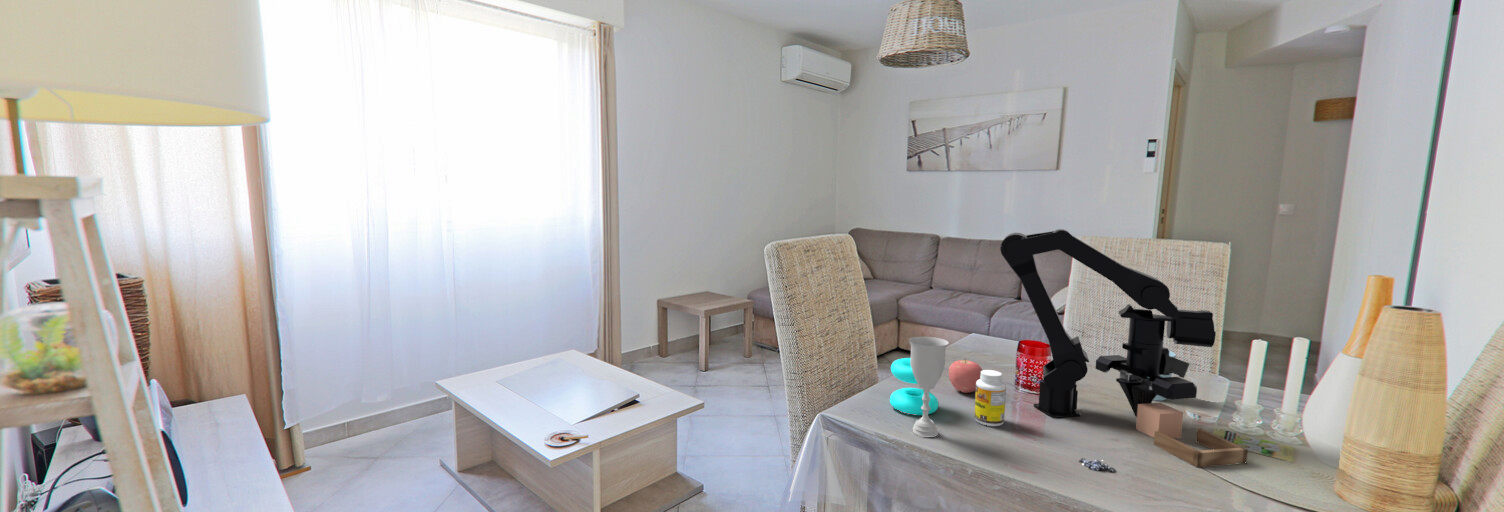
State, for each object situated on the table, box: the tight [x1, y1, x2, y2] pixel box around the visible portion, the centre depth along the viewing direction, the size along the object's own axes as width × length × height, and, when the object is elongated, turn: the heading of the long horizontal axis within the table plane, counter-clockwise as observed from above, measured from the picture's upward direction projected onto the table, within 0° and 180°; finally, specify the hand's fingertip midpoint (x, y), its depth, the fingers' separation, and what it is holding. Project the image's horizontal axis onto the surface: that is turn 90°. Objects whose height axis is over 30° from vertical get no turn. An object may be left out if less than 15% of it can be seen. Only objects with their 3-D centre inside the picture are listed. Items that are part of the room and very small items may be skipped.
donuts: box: [889, 357, 939, 416], centre depth 123 cm, size 10×10×10 cm
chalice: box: [908, 336, 949, 436], centre depth 110 cm, size 7×7×18 cm
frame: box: [1153, 427, 1249, 468], centre depth 102 cm, size 10×9×2 cm
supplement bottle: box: [974, 369, 1007, 427], centre depth 116 cm, size 6×6×10 cm
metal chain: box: [1078, 457, 1116, 474], centre depth 98 cm, size 7×8×2 cm
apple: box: [948, 357, 983, 394], centre depth 133 cm, size 7×7×8 cm
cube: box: [1135, 402, 1184, 439], centre depth 110 cm, size 5×5×5 cm
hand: (1139, 417), depth 115 cm, fingers closed
